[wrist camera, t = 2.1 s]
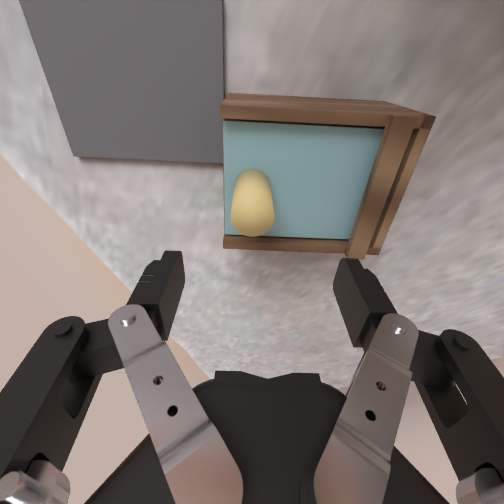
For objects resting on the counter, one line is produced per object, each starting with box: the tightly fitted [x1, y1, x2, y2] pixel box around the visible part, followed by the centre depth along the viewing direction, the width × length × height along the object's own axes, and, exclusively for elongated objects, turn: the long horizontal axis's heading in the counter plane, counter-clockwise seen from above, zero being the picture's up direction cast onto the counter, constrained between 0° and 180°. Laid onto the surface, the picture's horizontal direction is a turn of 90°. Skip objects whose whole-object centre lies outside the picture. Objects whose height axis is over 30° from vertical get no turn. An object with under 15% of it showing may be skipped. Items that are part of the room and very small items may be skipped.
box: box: [220, 93, 436, 259], centre depth 25 cm, size 12×15×9 cm
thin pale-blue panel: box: [223, 119, 385, 239], centre depth 20 cm, size 10×14×6 cm
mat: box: [19, 0, 224, 164], centre depth 24 cm, size 13×16×1 cm
